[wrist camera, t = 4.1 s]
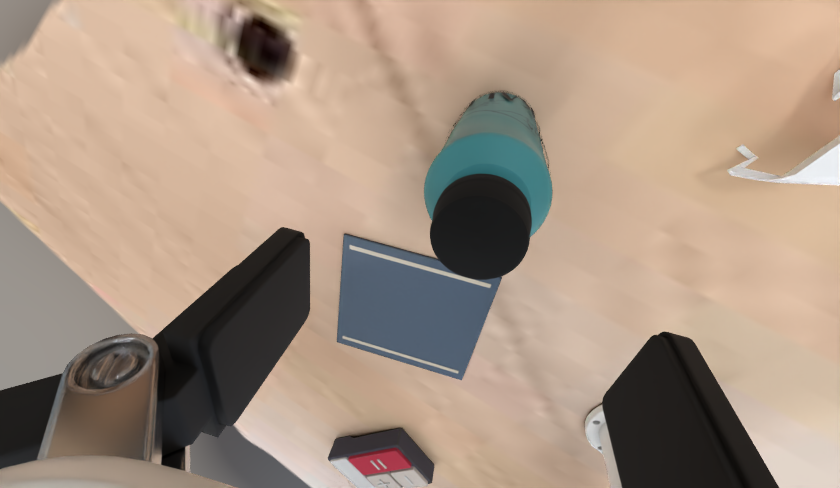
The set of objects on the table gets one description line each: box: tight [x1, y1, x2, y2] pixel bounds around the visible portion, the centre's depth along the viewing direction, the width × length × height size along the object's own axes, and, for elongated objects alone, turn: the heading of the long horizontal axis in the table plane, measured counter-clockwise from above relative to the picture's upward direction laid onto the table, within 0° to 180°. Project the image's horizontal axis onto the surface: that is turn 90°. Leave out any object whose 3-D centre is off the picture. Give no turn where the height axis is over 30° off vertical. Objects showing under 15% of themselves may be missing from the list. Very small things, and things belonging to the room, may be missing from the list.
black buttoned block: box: [328, 428, 434, 488], centre depth 60 cm, size 11×4×15 cm
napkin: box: [337, 234, 502, 380], centre depth 43 cm, size 18×18×1 cm
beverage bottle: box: [424, 91, 552, 280], centre depth 22 cm, size 6×7×20 cm
